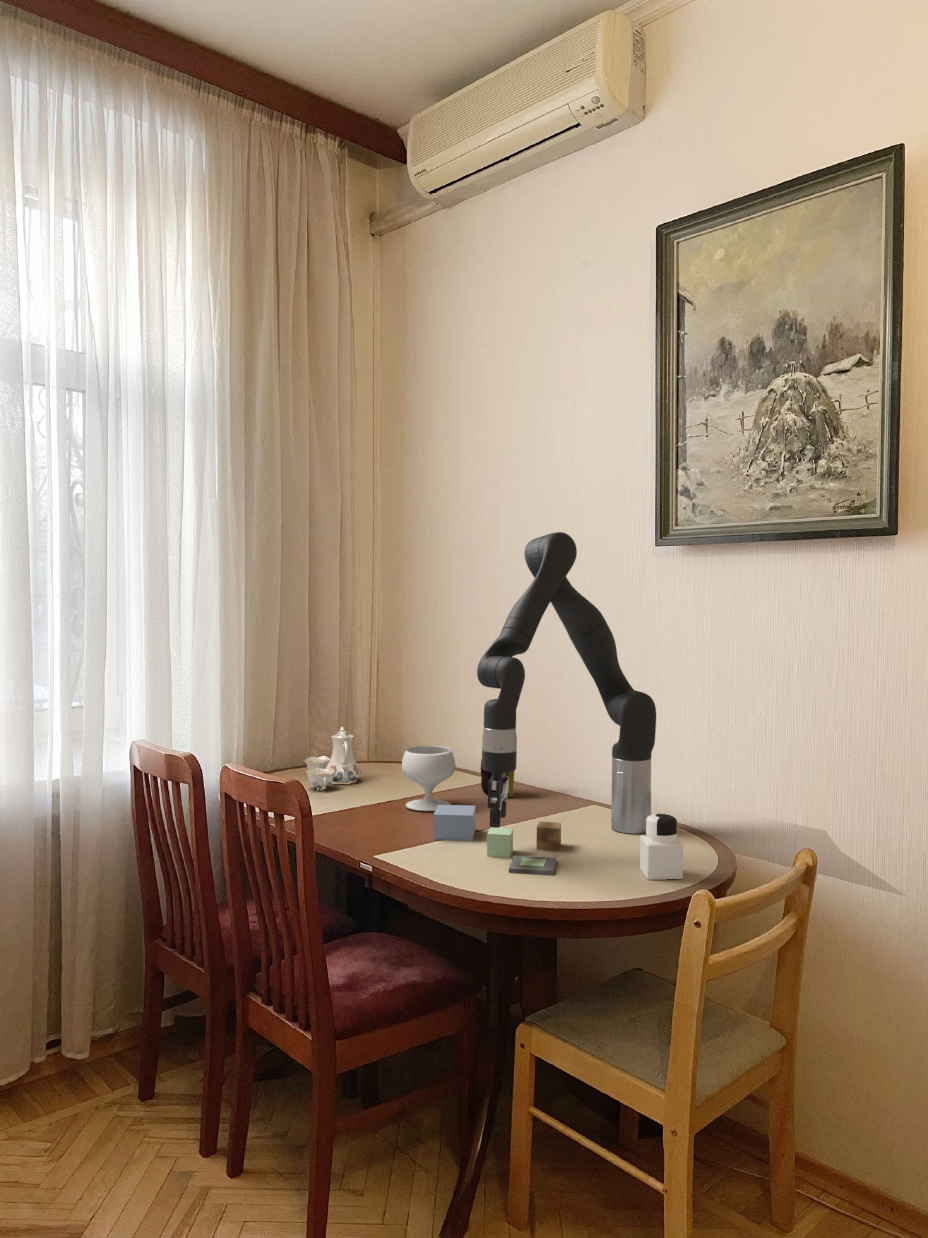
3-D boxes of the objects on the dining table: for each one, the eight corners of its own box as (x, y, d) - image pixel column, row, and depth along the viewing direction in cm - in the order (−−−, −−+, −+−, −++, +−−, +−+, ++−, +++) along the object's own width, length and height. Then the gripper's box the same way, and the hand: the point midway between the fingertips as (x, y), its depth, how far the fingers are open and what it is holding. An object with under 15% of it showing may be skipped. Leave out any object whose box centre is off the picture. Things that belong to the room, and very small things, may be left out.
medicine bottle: (673, 868, 192) (674, 811, 192) (683, 880, 185) (683, 820, 185) (639, 869, 192) (640, 811, 192) (647, 880, 185) (648, 820, 185)
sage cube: (512, 851, 205) (513, 828, 204) (510, 858, 200) (510, 835, 200) (490, 850, 206) (490, 827, 205) (486, 856, 201) (487, 833, 200)
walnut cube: (560, 844, 210) (561, 822, 210) (559, 851, 205) (559, 828, 205) (538, 843, 211) (538, 821, 210) (536, 849, 206) (536, 827, 206)
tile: (556, 861, 197) (556, 856, 197) (552, 875, 188) (552, 870, 188) (514, 859, 199) (514, 854, 199) (508, 872, 190) (508, 867, 190)
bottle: (520, 797, 253) (520, 724, 252) (502, 801, 249) (502, 727, 249) (493, 789, 263) (494, 719, 262) (475, 792, 259) (475, 721, 258)
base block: (475, 830, 221) (475, 805, 221) (472, 841, 212) (472, 815, 212) (437, 829, 222) (438, 804, 222) (433, 840, 213) (433, 814, 213)
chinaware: (300, 779, 283) (294, 725, 282) (354, 770, 288) (348, 717, 287) (310, 800, 256) (304, 741, 255) (370, 790, 261) (364, 732, 260)
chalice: (444, 815, 234) (444, 756, 234) (393, 810, 239) (393, 752, 238) (462, 802, 248) (462, 746, 247) (413, 798, 252) (413, 743, 251)
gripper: (512, 755, 194) (510, 832, 195) (520, 743, 208) (519, 815, 209) (476, 753, 196) (475, 829, 196) (487, 741, 210) (486, 813, 210)
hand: (498, 822), depth 203 cm, fingers open, 8 cm apart
